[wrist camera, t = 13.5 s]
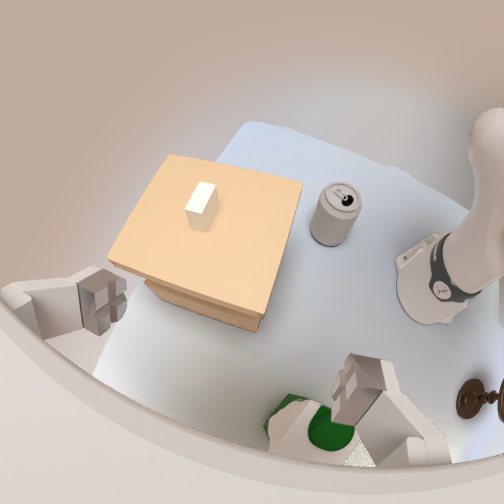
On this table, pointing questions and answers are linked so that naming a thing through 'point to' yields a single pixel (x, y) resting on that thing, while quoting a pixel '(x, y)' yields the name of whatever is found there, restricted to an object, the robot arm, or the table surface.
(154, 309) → the table surface
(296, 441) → the milk carton
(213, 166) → the carton lid
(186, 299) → the carton
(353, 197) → the can
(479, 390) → the candlestick
